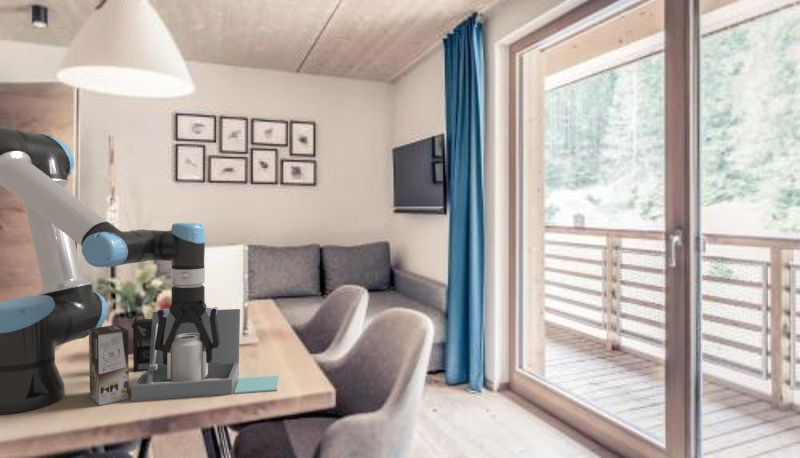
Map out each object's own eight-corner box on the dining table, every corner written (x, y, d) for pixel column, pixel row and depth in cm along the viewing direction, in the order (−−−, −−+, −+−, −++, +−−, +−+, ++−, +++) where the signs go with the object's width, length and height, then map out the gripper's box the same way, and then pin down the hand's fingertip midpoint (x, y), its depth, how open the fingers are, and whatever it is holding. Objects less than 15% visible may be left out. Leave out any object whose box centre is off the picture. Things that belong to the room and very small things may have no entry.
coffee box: (130, 398, 111) (129, 330, 110) (98, 406, 106) (97, 335, 106) (119, 388, 118) (118, 323, 117) (89, 395, 113) (88, 327, 112)
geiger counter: (175, 363, 137) (174, 311, 137) (173, 368, 133) (173, 314, 133) (134, 367, 134) (133, 314, 133) (131, 372, 129) (130, 317, 129)
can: (204, 376, 123) (204, 330, 123) (203, 386, 116) (203, 337, 116) (172, 379, 121) (172, 332, 120) (169, 389, 114) (170, 340, 113)
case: (131, 401, 109) (130, 327, 109) (154, 375, 127) (153, 311, 126) (231, 394, 114) (231, 323, 114) (240, 369, 132) (240, 308, 131)
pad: (234, 393, 114) (234, 392, 114) (239, 379, 124) (239, 378, 124) (276, 390, 116) (277, 389, 116) (278, 377, 126) (278, 375, 126)
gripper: (138, 288, 112) (138, 384, 113) (229, 286, 116) (228, 379, 117) (148, 283, 119) (148, 373, 120) (233, 282, 124) (232, 369, 124)
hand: (187, 376), depth 119 cm, fingers closed on can, 7 cm apart
